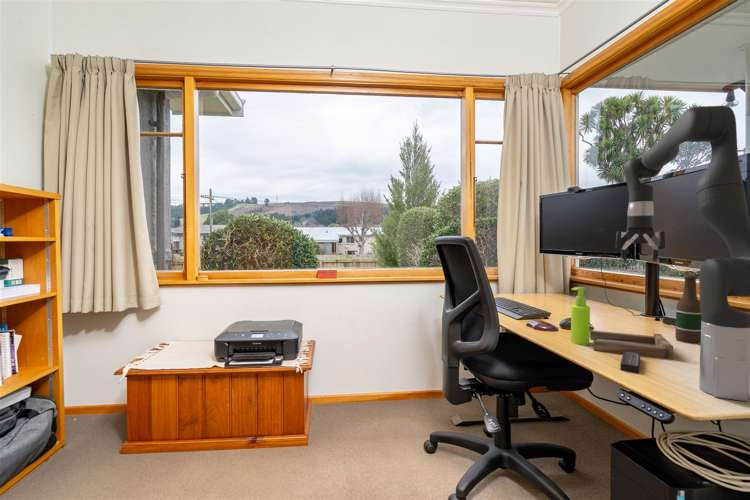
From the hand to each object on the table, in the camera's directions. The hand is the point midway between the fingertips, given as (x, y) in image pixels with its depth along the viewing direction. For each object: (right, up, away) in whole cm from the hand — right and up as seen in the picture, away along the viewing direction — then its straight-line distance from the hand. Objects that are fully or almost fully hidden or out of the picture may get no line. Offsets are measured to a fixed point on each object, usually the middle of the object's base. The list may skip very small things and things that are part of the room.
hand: (639, 260), depth 135 cm
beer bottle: (+20, -30, +3) cm, 36 cm away
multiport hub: (-17, -31, -21) cm, 41 cm away
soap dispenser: (-21, -30, +2) cm, 36 cm away
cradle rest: (-7, -30, -5) cm, 31 cm away
